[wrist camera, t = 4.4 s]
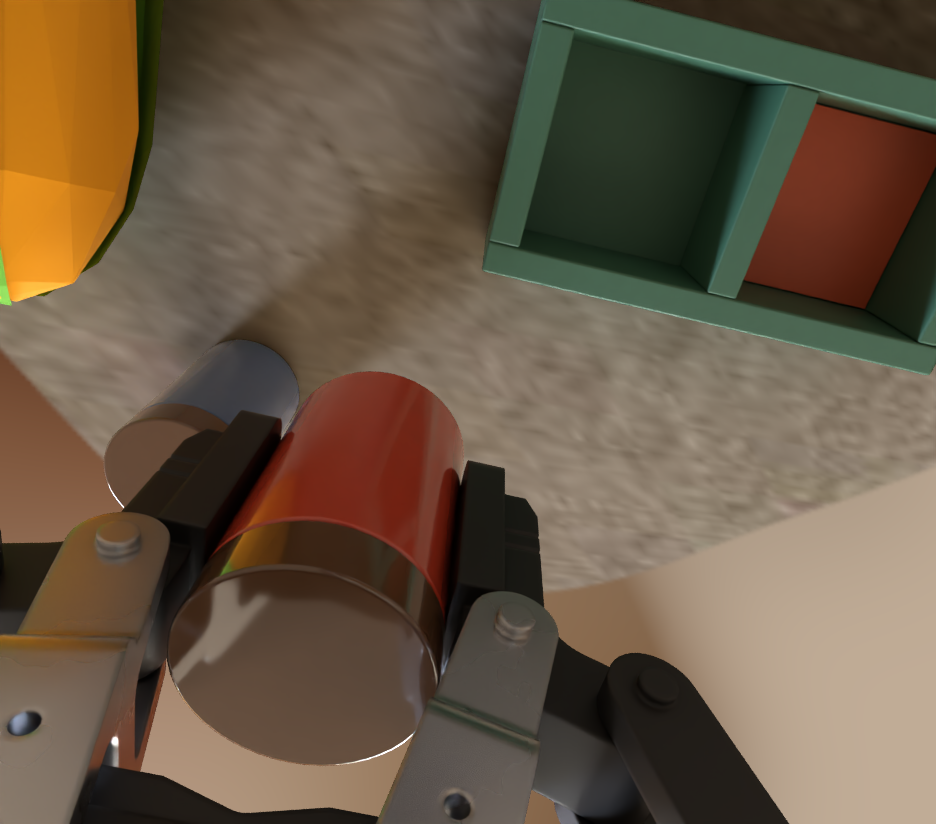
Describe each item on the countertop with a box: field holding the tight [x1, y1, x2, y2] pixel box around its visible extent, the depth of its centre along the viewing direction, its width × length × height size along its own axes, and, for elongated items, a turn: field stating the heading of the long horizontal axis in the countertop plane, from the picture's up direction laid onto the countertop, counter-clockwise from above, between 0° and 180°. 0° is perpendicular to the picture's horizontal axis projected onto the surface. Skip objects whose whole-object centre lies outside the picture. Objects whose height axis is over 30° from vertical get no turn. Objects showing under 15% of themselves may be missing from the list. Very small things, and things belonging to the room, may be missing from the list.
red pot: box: [166, 371, 464, 766], centre depth 12 cm, size 4×4×6 cm
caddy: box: [482, 0, 936, 375], centre depth 18 cm, size 7×12×4 cm, turn 77°
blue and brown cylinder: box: [104, 340, 299, 508], centre depth 21 cm, size 4×4×6 cm
